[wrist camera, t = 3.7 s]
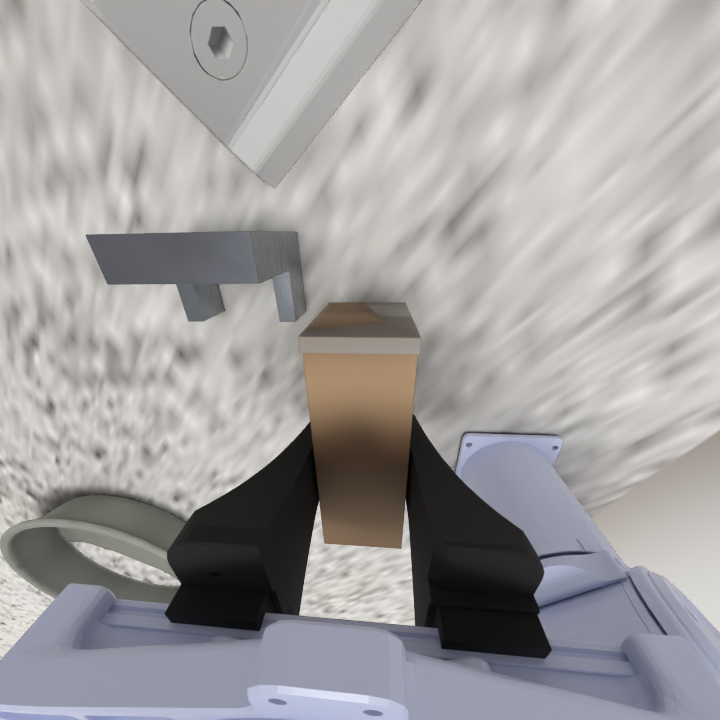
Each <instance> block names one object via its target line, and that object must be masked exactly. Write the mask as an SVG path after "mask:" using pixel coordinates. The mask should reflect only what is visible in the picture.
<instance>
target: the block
mask: <svg viewBox="0 0 720 720" xmlns="http://www.w3.org/2000/svg"><path fill="white" fill-rule="evenodd" d="M298 342H299V351H300V353H303V362H304V371H305V379H306V388H307V397H308V406H309V414H310V423H311V432H312V440H313V449H314V458H315V466H316V475H317V484H318V492H319V501H320V510H321V519H322V527H323V536H324V543H326V544H341V545H355V546H370V547H385V548H400V549H401V546H402V534H403V522H404V510H405V498H406V486H407V474H408V462H409V450H410V438H411V426H412V414H413V402H414V390H415V378H416V366H417V354H420V346H421V337H420V335H419V332H418V330H417V328H416V326H415V323H414V321H413V319H412V317H411V314H410V312H409V310H408V308H407V305H406V303H405V302H404V303H328V304H327V305H326V307H325V308H324V309H323V310H322V311H321V312H320V313H319V314H318V315H317V317H316V318H315V319H314V320H313V321H312V322H311V323H310V324H309V325H308V327H307V328H306V329H305V330H304V331H303V332H302V333H301V334H300V335H299V336H298Z"/></svg>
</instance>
